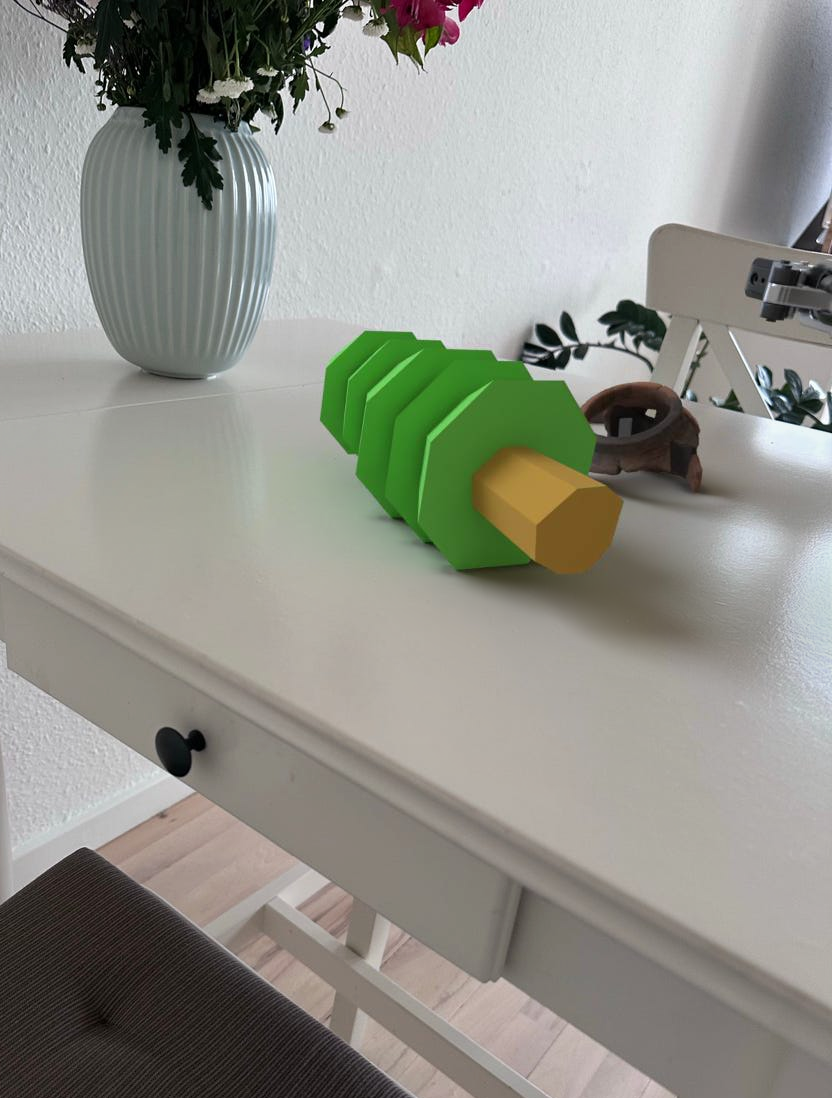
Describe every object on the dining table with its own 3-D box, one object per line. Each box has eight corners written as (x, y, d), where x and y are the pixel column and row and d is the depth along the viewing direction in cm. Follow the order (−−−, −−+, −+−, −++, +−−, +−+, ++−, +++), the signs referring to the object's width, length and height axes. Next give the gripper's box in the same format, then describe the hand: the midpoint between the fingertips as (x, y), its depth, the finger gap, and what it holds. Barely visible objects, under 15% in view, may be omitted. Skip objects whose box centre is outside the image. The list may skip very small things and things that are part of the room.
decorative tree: (569, 374, 40) (303, 247, 63) (436, 605, 44) (229, 405, 67) (722, 465, 47) (430, 320, 70) (596, 661, 50) (357, 461, 73)
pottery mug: (727, 516, 68) (718, 419, 62) (595, 557, 69) (576, 467, 64) (671, 428, 77) (659, 336, 71) (555, 466, 78) (535, 380, 73)
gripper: (859, 411, 43) (647, 334, 57) (1076, 422, 47) (826, 348, 61) (923, 228, 39) (681, 196, 54) (1151, 256, 43) (868, 220, 58)
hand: (759, 277), depth 57 cm, fingers closed
